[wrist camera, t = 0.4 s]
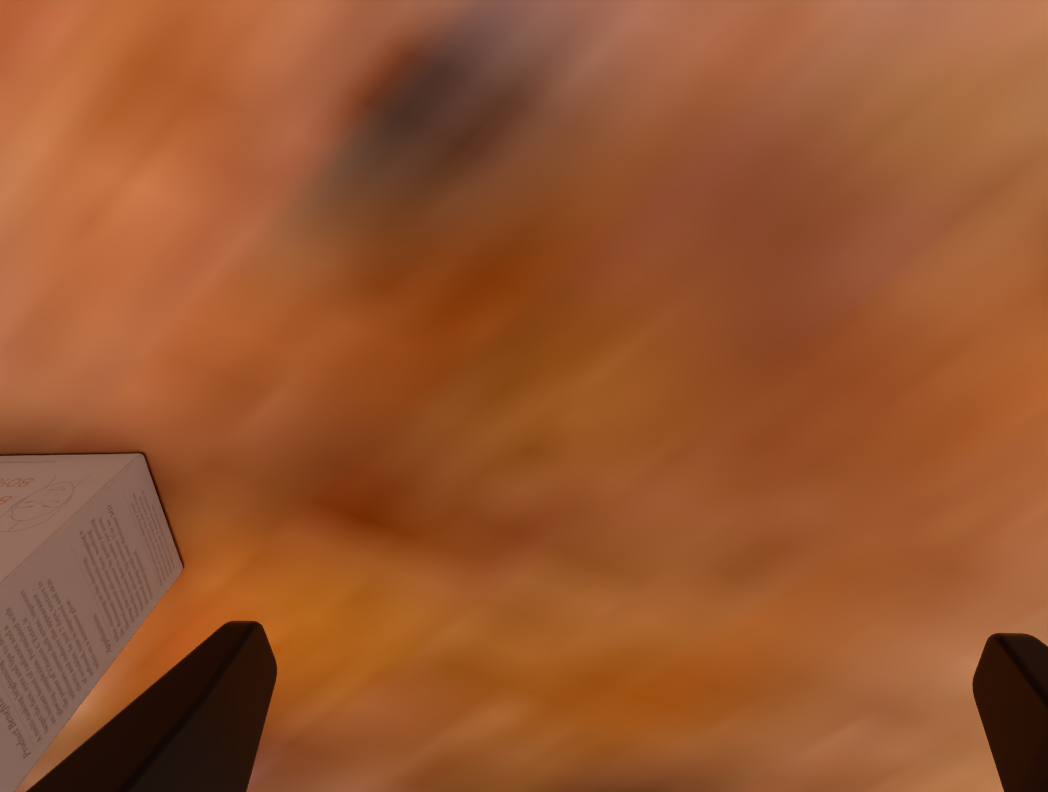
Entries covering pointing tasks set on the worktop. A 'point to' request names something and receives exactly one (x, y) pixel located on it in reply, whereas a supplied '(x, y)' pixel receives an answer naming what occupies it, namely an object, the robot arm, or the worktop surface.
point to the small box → (71, 586)
